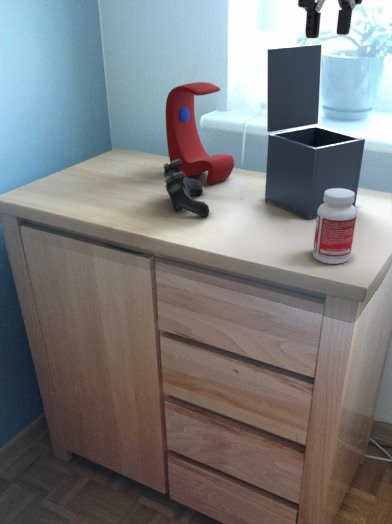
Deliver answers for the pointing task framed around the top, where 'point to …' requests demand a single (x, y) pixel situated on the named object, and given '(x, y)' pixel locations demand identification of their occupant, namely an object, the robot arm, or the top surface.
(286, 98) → the chest lid
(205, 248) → the top surface
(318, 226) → the pill bottle
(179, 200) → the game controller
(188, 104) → the chair
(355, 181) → the chest
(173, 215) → the top surface
